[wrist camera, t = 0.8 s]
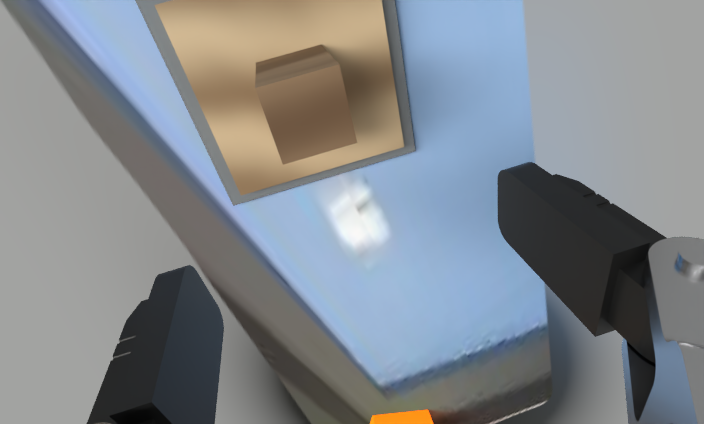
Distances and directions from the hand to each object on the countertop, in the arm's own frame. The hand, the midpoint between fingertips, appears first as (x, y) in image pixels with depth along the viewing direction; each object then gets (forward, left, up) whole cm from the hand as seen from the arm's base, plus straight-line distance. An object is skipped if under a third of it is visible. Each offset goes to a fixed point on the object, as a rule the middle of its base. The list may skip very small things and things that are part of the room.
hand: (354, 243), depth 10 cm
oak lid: (0, 0, -17) cm, 17 cm away
